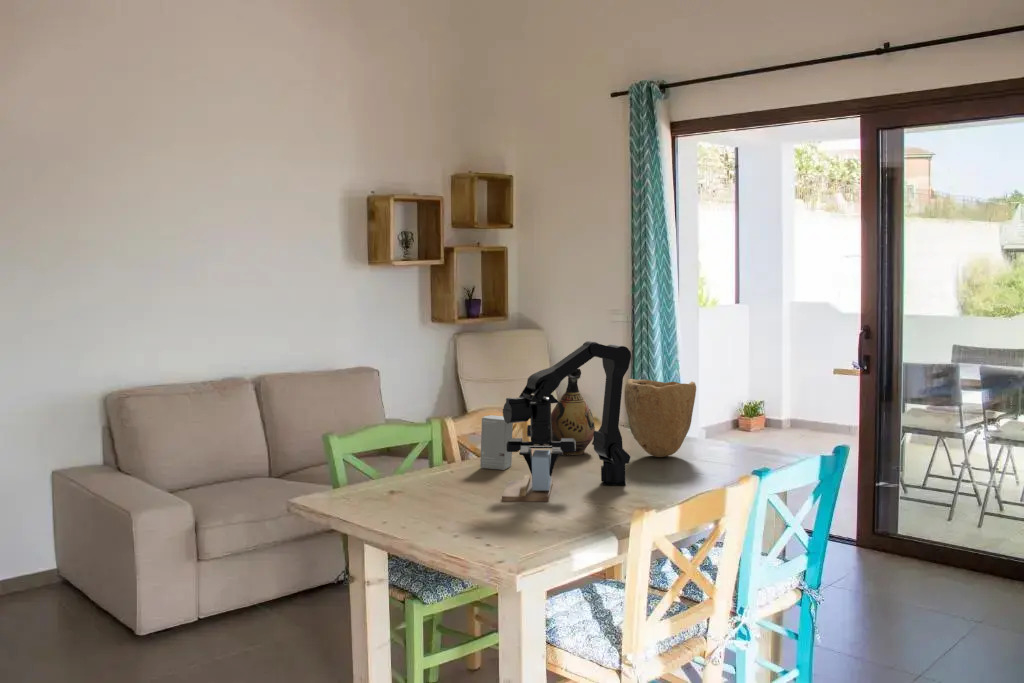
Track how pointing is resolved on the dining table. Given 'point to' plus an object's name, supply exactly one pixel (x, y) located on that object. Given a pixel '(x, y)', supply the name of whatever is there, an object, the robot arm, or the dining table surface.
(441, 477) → the dining table surface
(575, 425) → the ceramic jug
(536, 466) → the blue block
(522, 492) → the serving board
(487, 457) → the skincare box
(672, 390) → the brown stone pot
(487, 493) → the dining table surface
